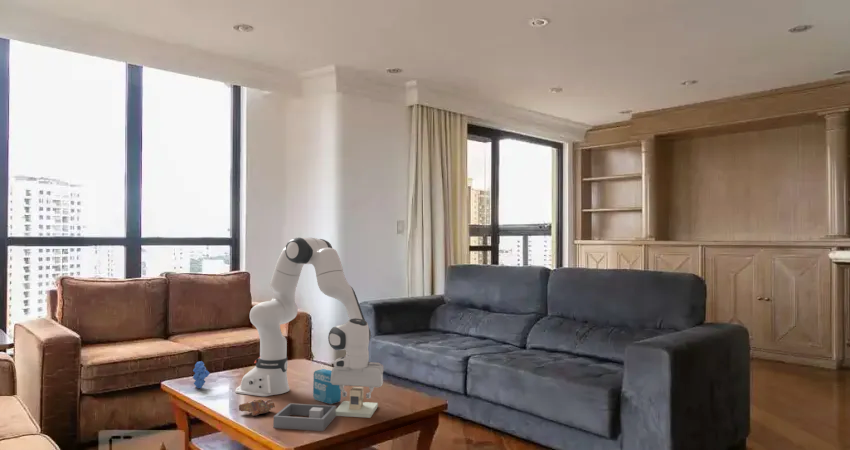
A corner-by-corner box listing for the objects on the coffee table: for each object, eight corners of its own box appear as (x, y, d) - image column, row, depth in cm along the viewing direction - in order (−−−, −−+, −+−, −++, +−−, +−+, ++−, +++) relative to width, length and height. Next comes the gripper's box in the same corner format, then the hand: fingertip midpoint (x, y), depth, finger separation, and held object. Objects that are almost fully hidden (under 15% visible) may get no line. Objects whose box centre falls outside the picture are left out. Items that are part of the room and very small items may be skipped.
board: (333, 415, 219) (333, 411, 219) (343, 404, 233) (343, 400, 233) (370, 417, 217) (370, 413, 217) (377, 406, 231) (377, 402, 231)
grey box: (309, 424, 209) (309, 410, 209) (312, 420, 213) (312, 407, 213) (319, 425, 208) (320, 411, 208) (323, 421, 212) (323, 407, 212)
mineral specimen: (248, 415, 212) (244, 397, 214) (240, 422, 217) (236, 404, 219) (278, 409, 220) (274, 391, 223) (269, 415, 225) (265, 398, 227)
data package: (312, 399, 240) (313, 370, 240) (321, 396, 243) (321, 368, 244) (332, 405, 232) (333, 374, 232) (340, 402, 236) (341, 373, 236)
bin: (273, 427, 204) (273, 416, 204) (289, 413, 220) (289, 403, 220) (323, 431, 202) (323, 419, 202) (335, 416, 218) (335, 405, 218)
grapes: (213, 390, 250) (214, 362, 250) (197, 392, 246) (198, 363, 246) (205, 384, 260) (206, 357, 260) (189, 386, 256) (190, 358, 256)
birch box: (353, 404, 228) (353, 386, 228) (363, 405, 228) (363, 387, 228) (349, 409, 222) (349, 391, 222) (359, 409, 222) (359, 391, 222)
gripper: (385, 361, 227) (384, 396, 227) (334, 358, 230) (333, 393, 230) (382, 364, 221) (381, 401, 221) (329, 361, 223) (328, 398, 223)
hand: (356, 397), depth 225 cm, fingers open, 8 cm apart
